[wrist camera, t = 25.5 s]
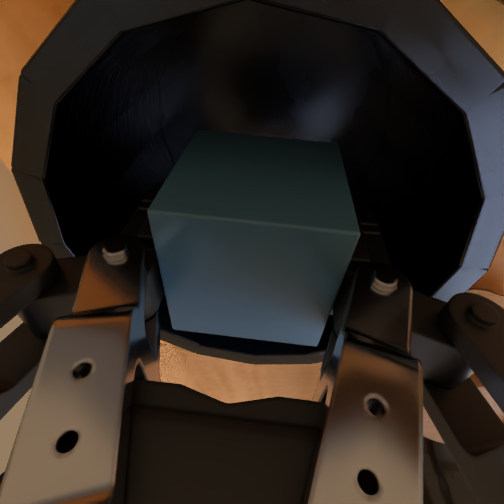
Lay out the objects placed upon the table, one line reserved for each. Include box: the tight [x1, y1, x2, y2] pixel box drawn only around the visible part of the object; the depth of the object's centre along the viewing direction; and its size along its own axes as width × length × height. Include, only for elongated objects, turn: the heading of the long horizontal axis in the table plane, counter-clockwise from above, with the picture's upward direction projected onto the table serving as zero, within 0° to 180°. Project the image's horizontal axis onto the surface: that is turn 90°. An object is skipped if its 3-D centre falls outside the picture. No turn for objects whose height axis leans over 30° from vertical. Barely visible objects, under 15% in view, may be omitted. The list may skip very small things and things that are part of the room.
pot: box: [11, 0, 504, 364], centre depth 12 cm, size 13×13×10 cm
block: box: [147, 130, 360, 346], centre depth 9 cm, size 4×4×4 cm
